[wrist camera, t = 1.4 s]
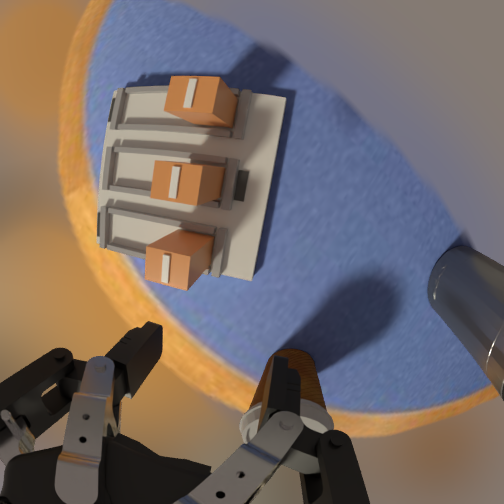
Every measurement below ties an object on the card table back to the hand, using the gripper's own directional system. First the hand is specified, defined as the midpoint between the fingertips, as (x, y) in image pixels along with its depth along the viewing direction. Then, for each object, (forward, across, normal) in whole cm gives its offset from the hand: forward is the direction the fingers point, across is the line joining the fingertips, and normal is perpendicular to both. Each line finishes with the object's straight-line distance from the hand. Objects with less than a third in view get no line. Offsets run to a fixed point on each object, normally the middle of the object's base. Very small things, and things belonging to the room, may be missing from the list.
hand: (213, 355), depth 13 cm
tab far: (+16, +6, 0) cm, 17 cm away
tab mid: (+16, +6, -7) cm, 18 cm away
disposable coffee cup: (+18, -7, +14) cm, 24 cm away
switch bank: (+18, +10, -7) cm, 21 cm away
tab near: (+16, +6, -14) cm, 22 cm away
